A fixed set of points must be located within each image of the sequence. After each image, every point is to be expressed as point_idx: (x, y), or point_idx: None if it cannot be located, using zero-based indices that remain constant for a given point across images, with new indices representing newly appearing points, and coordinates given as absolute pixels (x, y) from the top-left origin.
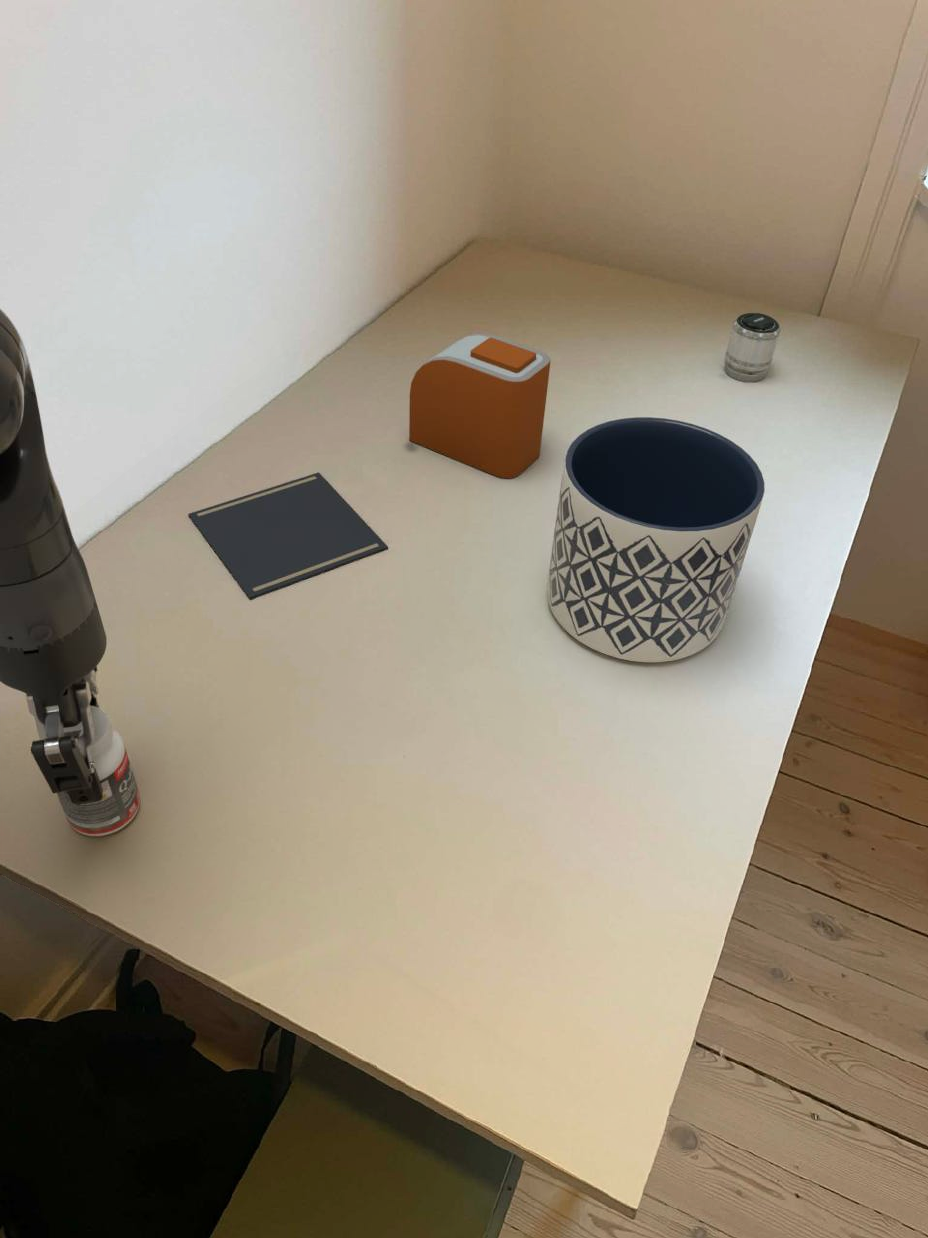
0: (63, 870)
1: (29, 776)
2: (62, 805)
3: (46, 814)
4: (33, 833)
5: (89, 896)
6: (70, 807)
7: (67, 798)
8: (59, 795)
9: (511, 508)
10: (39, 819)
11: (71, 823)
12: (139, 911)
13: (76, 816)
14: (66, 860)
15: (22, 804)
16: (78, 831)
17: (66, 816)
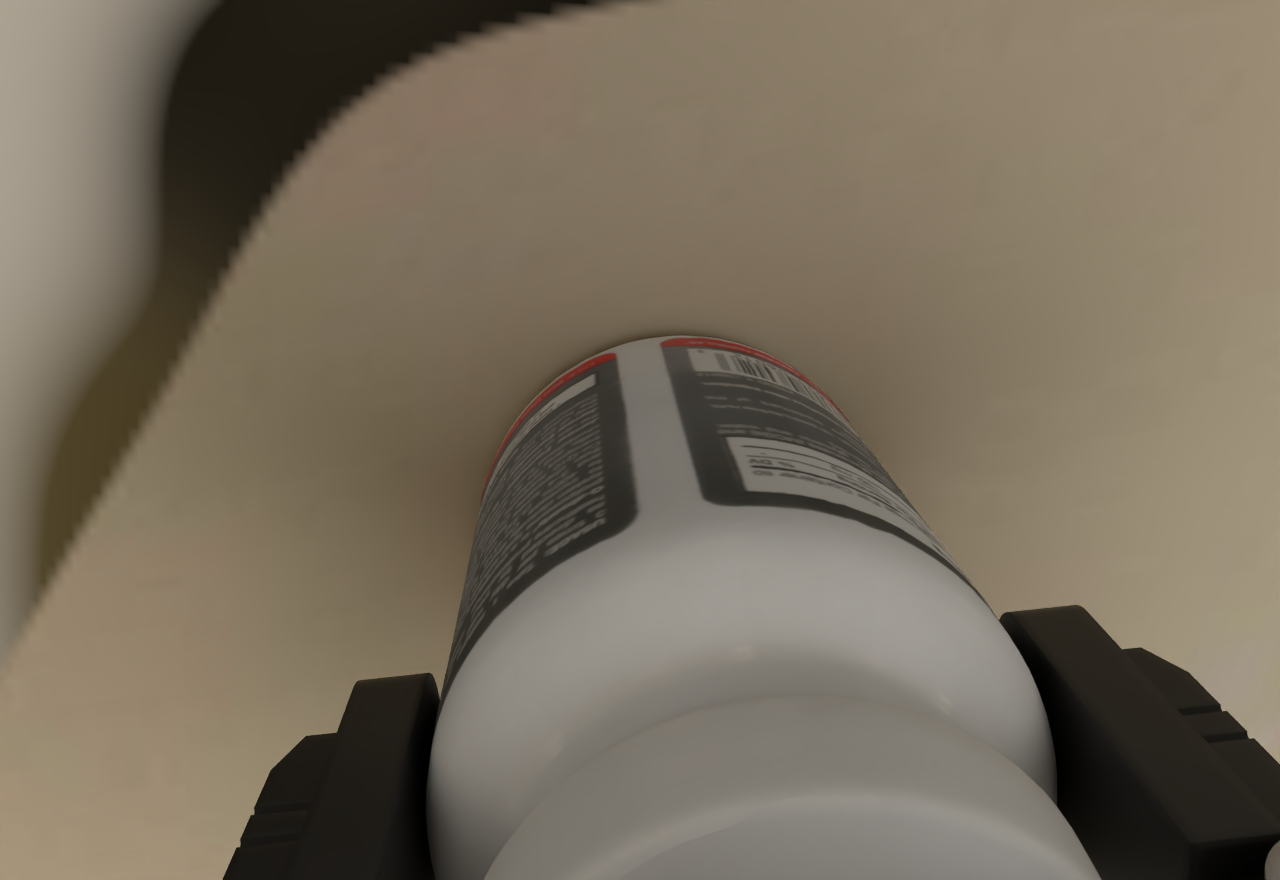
0: (297, 359)
1: (986, 52)
2: (560, 432)
3: (682, 206)
4: (554, 154)
5: (140, 509)
6: (491, 524)
7: (480, 573)
8: (535, 496)
9: None
10: (650, 171)
11: (532, 411)
12: (66, 734)
13: (486, 510)
14: (361, 365)
15: (775, 48)
16: (513, 425)
17: (568, 389)
